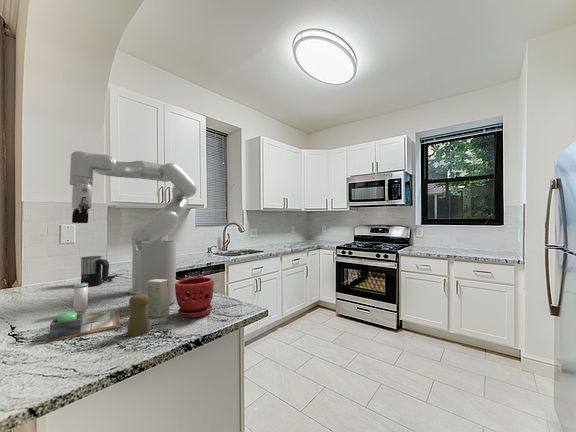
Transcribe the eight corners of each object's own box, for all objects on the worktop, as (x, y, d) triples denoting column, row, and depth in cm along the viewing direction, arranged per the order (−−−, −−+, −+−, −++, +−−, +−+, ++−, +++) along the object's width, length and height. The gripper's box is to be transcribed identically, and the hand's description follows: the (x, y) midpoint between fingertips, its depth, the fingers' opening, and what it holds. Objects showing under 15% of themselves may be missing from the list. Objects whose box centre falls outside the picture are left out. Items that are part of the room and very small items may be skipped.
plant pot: (212, 306, 102) (212, 275, 102) (214, 317, 89) (214, 282, 89) (176, 309, 97) (176, 277, 98) (172, 322, 85) (173, 285, 85)
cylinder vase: (132, 306, 101) (134, 242, 101) (157, 298, 113) (158, 240, 113) (158, 310, 97) (159, 243, 98) (181, 300, 109) (182, 240, 110)
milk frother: (75, 287, 132) (76, 258, 132) (92, 280, 147) (93, 254, 148) (107, 285, 134) (107, 257, 135) (120, 279, 150) (120, 253, 150)
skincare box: (169, 313, 93) (170, 279, 93) (160, 317, 89) (160, 282, 89) (156, 311, 95) (156, 278, 95) (146, 315, 91) (146, 280, 91)
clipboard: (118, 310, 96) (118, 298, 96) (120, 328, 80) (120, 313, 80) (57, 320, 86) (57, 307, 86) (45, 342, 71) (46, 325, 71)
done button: (77, 319, 79) (77, 311, 79) (76, 324, 76) (76, 315, 76) (58, 322, 77) (58, 314, 77) (56, 327, 73) (56, 318, 73)
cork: (133, 328, 80) (133, 292, 80) (153, 327, 81) (154, 291, 81) (122, 336, 74) (123, 298, 74) (144, 336, 75) (145, 297, 75)
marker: (87, 310, 97) (88, 282, 97) (87, 313, 93) (87, 284, 94) (73, 312, 94) (74, 284, 95) (72, 315, 91) (73, 286, 91)
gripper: (98, 181, 105) (96, 223, 105) (87, 185, 117) (85, 223, 116) (75, 178, 100) (73, 222, 99) (65, 182, 111) (63, 222, 110)
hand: (79, 223), depth 107 cm, fingers open, 9 cm apart
